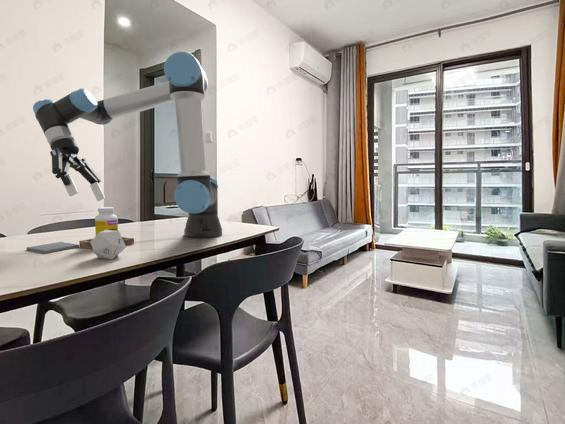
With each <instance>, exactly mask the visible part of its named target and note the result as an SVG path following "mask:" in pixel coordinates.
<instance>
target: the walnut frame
mask: <svg viewBox="0 0 565 424" xmlns="http://www.w3.org/2000/svg"><path fill="white" fill-rule="evenodd" d="M121 237H122V239H123V241H124V243H125V245H126V247H127V246H133V245H134V244H135V238H134V237H127V236H121ZM92 239H93V238H88V239H83V240H79V244H78V245H79V248H86V249H89V250H90V249H91V250H93V248H92V245H91V243H90V241H91V240H92Z"/></svg>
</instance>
